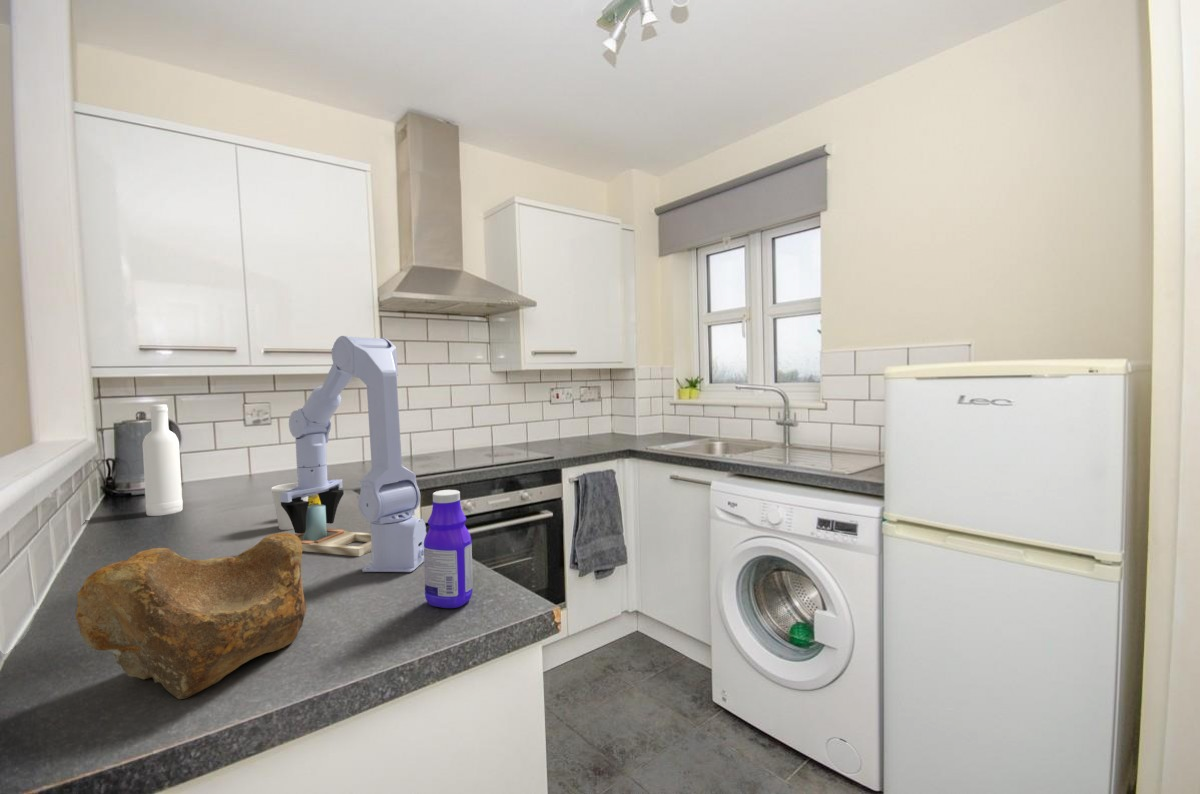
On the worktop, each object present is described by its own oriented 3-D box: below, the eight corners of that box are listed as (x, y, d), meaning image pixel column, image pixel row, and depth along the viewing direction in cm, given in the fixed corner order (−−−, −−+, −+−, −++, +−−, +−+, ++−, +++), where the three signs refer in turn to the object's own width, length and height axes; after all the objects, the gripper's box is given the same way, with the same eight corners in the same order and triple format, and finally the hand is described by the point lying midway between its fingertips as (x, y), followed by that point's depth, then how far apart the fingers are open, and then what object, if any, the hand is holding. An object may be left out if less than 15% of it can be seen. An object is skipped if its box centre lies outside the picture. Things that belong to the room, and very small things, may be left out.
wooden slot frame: (391, 541, 114) (391, 533, 114) (359, 556, 105) (359, 547, 105) (315, 535, 120) (314, 527, 120) (278, 548, 111) (278, 540, 111)
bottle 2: (479, 597, 83) (476, 489, 83) (459, 613, 78) (454, 497, 77) (441, 592, 86) (437, 487, 85) (418, 607, 80) (414, 494, 80)
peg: (331, 540, 116) (329, 504, 116) (319, 546, 112) (317, 509, 111) (312, 540, 116) (310, 504, 116) (299, 546, 112) (297, 509, 112)
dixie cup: (274, 524, 130) (272, 484, 129) (312, 520, 134) (310, 481, 133) (270, 533, 122) (268, 491, 122) (311, 528, 126) (309, 486, 126)
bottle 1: (169, 508, 150) (163, 404, 149) (190, 509, 148) (184, 403, 147) (138, 515, 143) (132, 405, 142) (160, 516, 141) (153, 405, 140)
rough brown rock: (77, 759, 50) (74, 609, 49) (77, 677, 62) (75, 554, 61) (334, 668, 67) (337, 554, 66) (296, 617, 79) (297, 519, 77)
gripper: (324, 459, 121) (326, 517, 122) (267, 471, 108) (270, 536, 108) (348, 460, 119) (351, 519, 120) (294, 472, 106) (297, 538, 106)
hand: (314, 527), depth 114 cm, fingers open, 7 cm apart
